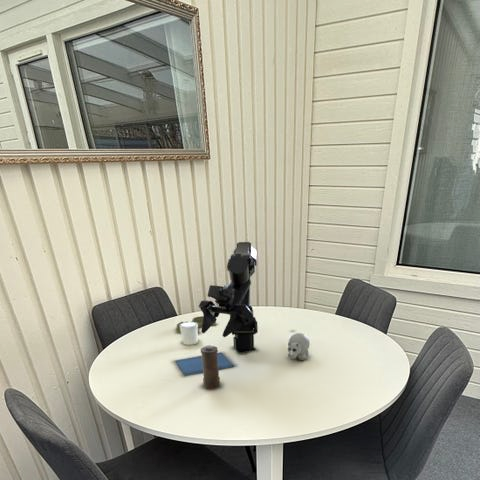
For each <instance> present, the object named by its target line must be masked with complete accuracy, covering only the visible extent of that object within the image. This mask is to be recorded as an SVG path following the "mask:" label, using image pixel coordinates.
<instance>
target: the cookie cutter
mask: <svg viewBox="0 0 480 480" xmlns="http://www.w3.org/2000/svg"><path fill="white" fill-rule="evenodd" d="M191 319H192V320H191V322H196V323H197V324H198V335H199V334H200V328H202V324H203V315H201V316H195V317H193V318H191ZM184 322H185V321H180V322H178V323H176V333H181V331H180V326H179V325H180V324H181V323H184ZM186 322H189V321H188V320H187V321H186ZM216 325H217V320H216V321H215V322H214V323H213V324H212V326H216Z"/></svg>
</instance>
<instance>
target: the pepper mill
mask: <svg viewBox="0 0 480 480" xmlns="http://www.w3.org/2000/svg"><path fill="white" fill-rule="evenodd" d="M217 353H219V349H218V346H215V345H210V344H209V345H205V346H203V347H200V354H201V356H202V364H203V372H202V374H203V377H202V382H203V388H204V389H207V390H215V389H218V388H219V387H220V386H221V381H220V380H221V379H220V371H219V369H218V356H217Z"/></svg>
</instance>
